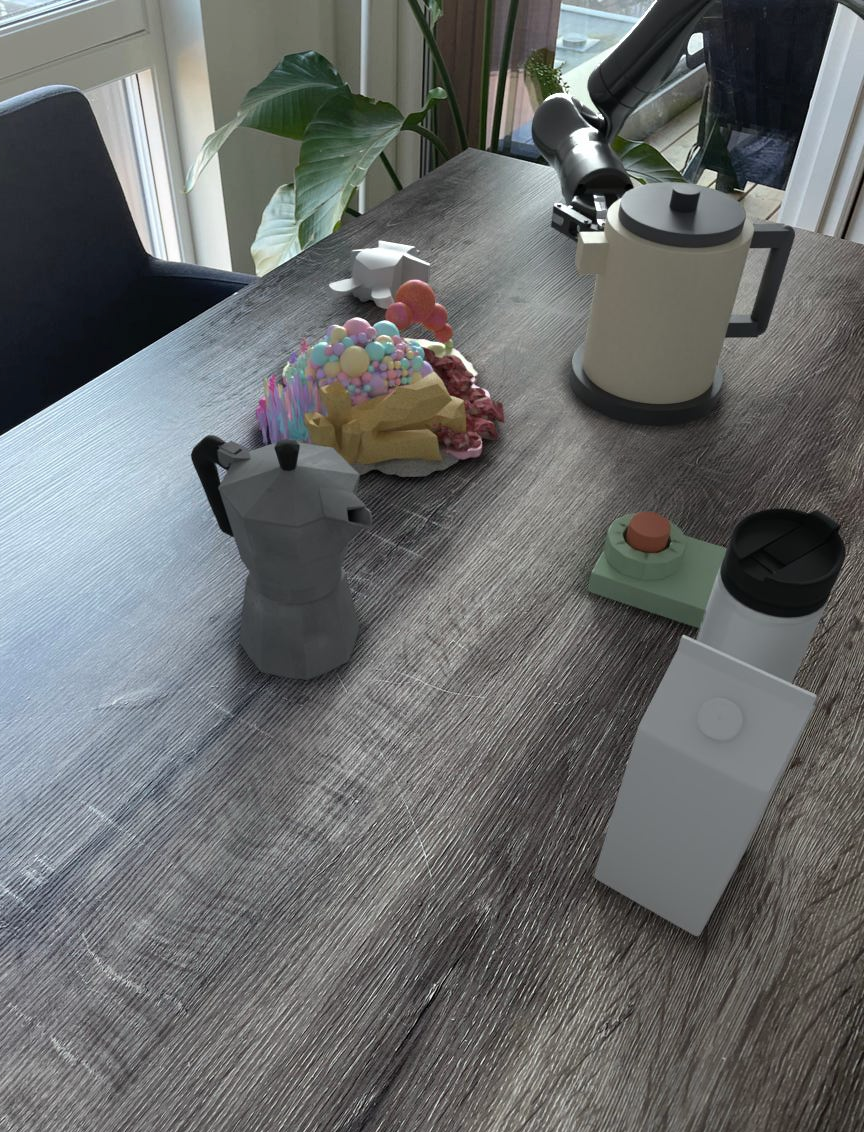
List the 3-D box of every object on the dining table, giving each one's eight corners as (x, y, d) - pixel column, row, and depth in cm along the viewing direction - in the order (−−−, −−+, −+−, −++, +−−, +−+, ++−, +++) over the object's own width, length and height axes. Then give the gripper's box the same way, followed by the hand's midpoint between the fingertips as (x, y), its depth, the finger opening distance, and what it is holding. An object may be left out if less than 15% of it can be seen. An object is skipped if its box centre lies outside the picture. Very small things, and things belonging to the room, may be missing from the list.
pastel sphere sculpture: (539, 460, 96) (552, 372, 89) (295, 513, 90) (289, 423, 83) (437, 330, 112) (442, 247, 105) (225, 367, 106) (216, 283, 100)
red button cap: (671, 535, 83) (675, 518, 82) (660, 559, 81) (664, 542, 80) (632, 523, 84) (636, 506, 83) (620, 546, 82) (624, 529, 81)
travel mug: (775, 765, 71) (877, 545, 57) (708, 809, 69) (797, 590, 54) (707, 707, 75) (788, 486, 61) (642, 747, 72) (709, 526, 58)
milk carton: (641, 803, 69) (709, 597, 55) (742, 857, 66) (840, 654, 53) (592, 878, 65) (652, 676, 51) (697, 939, 62) (791, 743, 49)
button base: (782, 587, 84) (797, 550, 81) (760, 650, 79) (775, 613, 76) (617, 535, 88) (625, 498, 86) (586, 592, 83) (594, 555, 81)
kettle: (771, 426, 100) (838, 225, 86) (571, 429, 99) (605, 227, 85) (725, 339, 111) (777, 149, 97) (545, 341, 111) (571, 150, 96)
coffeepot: (405, 639, 79) (412, 444, 67) (330, 715, 74) (322, 519, 61) (252, 560, 86) (232, 368, 73) (173, 625, 80) (136, 430, 67)
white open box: (443, 240, 118) (399, 283, 107) (439, 284, 122) (396, 330, 110) (366, 226, 120) (315, 267, 109) (364, 270, 124) (315, 314, 113)
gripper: (541, 153, 119) (566, 218, 107) (659, 152, 120) (697, 217, 108) (533, 217, 125) (556, 286, 113) (646, 216, 125) (681, 285, 113)
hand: (625, 252), depth 110 cm, fingers closed
